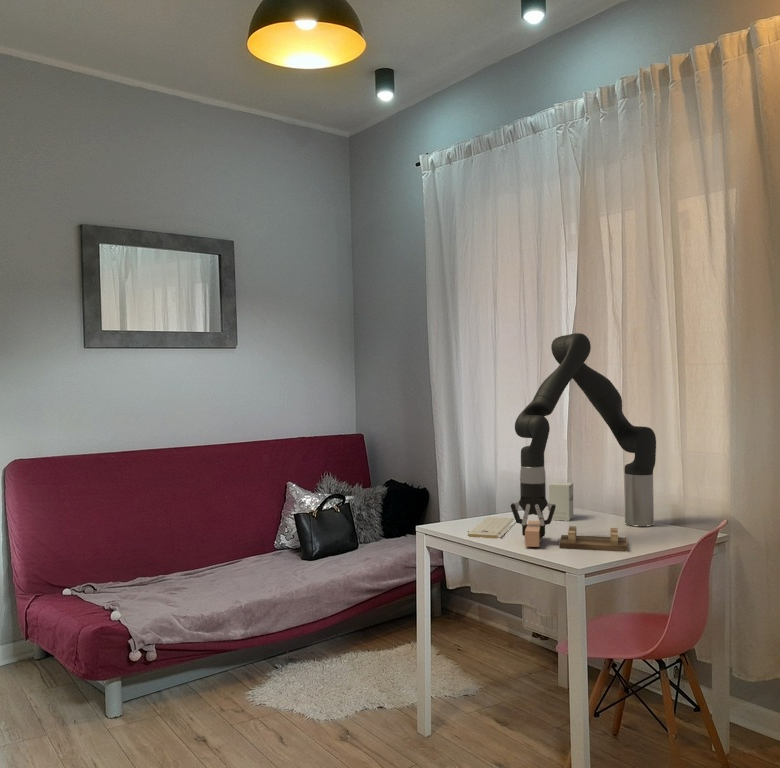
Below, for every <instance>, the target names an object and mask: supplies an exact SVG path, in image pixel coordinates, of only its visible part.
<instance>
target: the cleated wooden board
mask: <svg viewBox="0 0 780 768" xmlns="http://www.w3.org/2000/svg"><path fill="white" fill-rule="evenodd" d="M627 542H628V541H627V537H619V531H618V527H610V536H597V535H596V536H595V535H594V536H592V535H577V526H574V525H572V526H571V525H570V526H569V527H568V532H567V534H561V536H560V540H559V544H558V548H559V549H564V548H565V549H568V550H569V549H570V550H585V551H586V550H587V551H605V552H606V551H610V552H625V551H627V552H628V543H627Z"/></svg>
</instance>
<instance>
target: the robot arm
mask: <svg viewBox="0 0 780 768" xmlns="http://www.w3.org/2000/svg"><path fill="white" fill-rule="evenodd" d="M591 345H592V344H591V342H590V338H588V336H587V335H585V334H584V333H579V332H577V333H571V334H565V335H560V336H558V337H555V338H554V339H553V341H552V342H551V345H550V346H551V347H550V349H551V353H552V356H553V357H554V359H555V361H556V362H557V363H558V366H557V367H556V369H555V370H553V372H552V373H551V374H550V375H548V376H547V377H546V378H545V380H543V382H541V384H540V386H539V387H538V389H537V391H536V393H535V394H534V396H533V397H532V398H533V399H532V400H531V402H529V404H528V405H526V407H525V408H524V409H522V411H521V412H520V413H519V414H518V416H517V417H516V418H515V419H516V420H515V423H514V431H515V433H516V435H517V436H518V437H520V438H523V439H531V442H530V445H526V446H523V447H522V448H520V449H521V450H520V471H519V472H520V474H519V476H520V477H519V482H520V483H519V484H520V485H519V490H520V491H519V492H520V496H519V497H520V499H519V500H518V501H517V502H512V503H511V505H510V509H511V513H512V515H513V517H514V518H513V519H515V520H516V523H515V524H520V525H521V531H522V532H521V534H522V536H523V537H525V529H526V527H527V524H528V519H529V516H530V515H535V516H537V518H538V521H540V524H541V525H540V538H541V539H543V538H544V537H545V535H546V525H550V524H551V522H552V521H553V520H552V517H553V514H554V511H555V508H556V505H555V504H550V503H549V501H548V500H547V498H546V497H547V494H546V490H547V489H546V487H547V486H546V485H547V483H546V470H545V469H546V468H545V450H546V446H547V443H548V440H549V434H550V430H551V429H550V423H549V420H548V419H547V418H546V417H548V416H550V415H551V414H552V413H553V412H554V409H555V408H556V406H557V404H558V402H559V401H560V399H561V396H562V394H563V393H564V391H565V390H566V388H567V386H568V385H569V384H570V382H571V381H572V379H573V381H574V382H575V383H576V384H577V386H578V387H579V388H580V390H581V391H582V392H583V394H584V395H585V396H586V398H587V399H588V401H589V402H590V404H592V406H593V408H594V409H595V410H596V411H597V412H598V414H599V415H600V417H601V418H602V419H603V421H604V422H605V424H606V425H607V426H608V428H609V429H610V431H611V432H612V434H613V436H614V437H615V439H616V441H617V443H618V444H619V446H620V448H621V449H622V450H623V451H625V452H627V453H630V454H634V459H633V460H632V461H631V462H630V463H627V464H625V465H624V469H623V470H624V523H626V524H629V525H628V526H630V525H638V526H647V525H652V524H653V523H654V520H655V519H654V518H655V517H654V515H655V513H654V510H655V509H654V507H655V505H654V469H655V466H656V459H657V458H656V457H657V456H656V455H657V453H656V452H657V438H656V433H655V431H654V430H653V429H652V428H651V427H649V426H638V425H637V426H636V425H633V424H631V422H629V420H628V419H627V418H626V416H625V414H624V412H623V399H622V396H621V394H620V392H619V391H618V389H617V388H616V387H615V385H614V384H613V382H612V381H611V380H610V379H609V378H607V376H604V375H603V374H601V373H600V372H598V371H596V370H595V369H593V368H591V367H590V366H589V365H587V363H585V362H586V361H587V359H588V358H589V356H590V353H591V348H592V346H591ZM519 506H520V509H522V510H523V511H524V513H523V517H522V518H521V516H520V513H519V511H518V510H519ZM545 508H547V511H548V516H547V519H545V517H544V513H543V511H544V510H545ZM549 511H550V513H549ZM626 524H625V525H626Z"/></svg>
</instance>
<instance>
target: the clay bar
mask: <svg viewBox="0 0 780 768" xmlns="http://www.w3.org/2000/svg"><path fill="white" fill-rule="evenodd" d="M540 525H541V524H540V521H539V520H528V521H527V527H526V529H525V536H524V546H525V547H529V548H530V547H535V548H537V547H538V548H539V547H540V546H541V545H540V544H541V541H542V538H540Z"/></svg>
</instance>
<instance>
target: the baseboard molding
mask: <svg viewBox="0 0 780 768" xmlns="http://www.w3.org/2000/svg"><path fill="white" fill-rule="evenodd" d="M514 519H515V518H513V517H496V516H495V517H494V516H487V517H486V518H485V519H483V520H482V521H481V522H479V524H477V525H476V526H475V527H474V528H472V530H471V531H469V530H468V531H467V532H468V533H467V537H468V536H469V537H468V538H480V537H482V538H483V539H497V538H501V539H504V538H505V535H506V534H507V532H508V531H509V530H510V529H511V528H512V527H513V526H512V525H511V526H512V527H511V526H510V524H511V523H512V522H513V520H514ZM510 527H511V528H510ZM509 528H510V529H509ZM508 529H509V530H508ZM505 533H506V534H505ZM504 534H505V535H504ZM503 535H504V536H503Z"/></svg>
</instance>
